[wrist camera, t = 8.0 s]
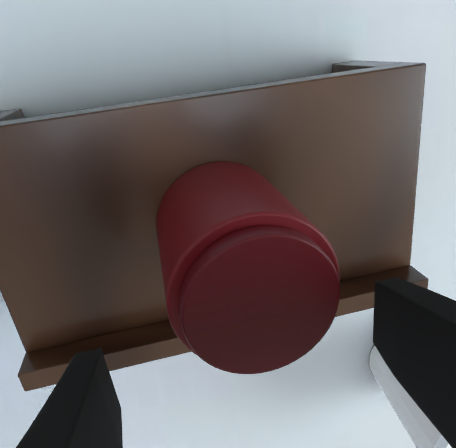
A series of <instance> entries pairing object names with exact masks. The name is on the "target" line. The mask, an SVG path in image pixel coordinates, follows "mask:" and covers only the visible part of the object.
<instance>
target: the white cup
mask: <svg viewBox="0 0 456 448" xmlns="http://www.w3.org/2000/svg"><path fill="white" fill-rule="evenodd" d="M369 366H370V369H371V371H372V373H373V375H374V377H375V379H376V381H377V382H378V384H379V386H380V387H381V389H382V391H383V392H384V394H385V396H386V397H387V399H388V401H389V402H390V404H391V406H392V407H393V409H394V411H395V412H396V414H397V416H398V417H399V419H400V421H401V422H402V424H403V426H404V427H405V429H406V431H407V432H408V434H409V436H410V437H411V439H412V441H413V442H414V444H415V446H416V447H417V448H452V447H451V446H450V445H449V443H448V442H447V441H446V440H445V438H444V437H443V436H442V435H441V434H440V432H439V431H438V430H437V429H436V427H435V426H434V425H433V424H432V423H431V421H430V420H429V419H428V418H427V416H426V415H425V414H424V413H423V412H422V410H421V409H420V408H419V407H418V405H417V404H416V403H415V402H414V401H413V399H412V398H411V397H410V396H409V394H408V393H407V392H406V391H405V389H404V388H403V387H402V386H401V384H400V383H399V382H398V381H397V379H396V378H395V377H394V375H393V374H392V372H391V371H390V369H389V368H388V366H387V365H386V363H385V362H384V360H383V358H382V357H381V355H380V353H379V352H378V350H377V348H376V347H375V345H374V347H373V349H372V351H371V353H370V363H369Z"/></svg>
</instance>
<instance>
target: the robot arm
mask: <svg viewBox="0 0 456 448" xmlns="http://www.w3.org/2000/svg"><path fill="white" fill-rule="evenodd" d="M373 343H374V345H375V347H376V348H377V350H378V352H379V353H380V355H381V357H382V358H383V360H384V362H385V363H386V365H387V366H388V368H389V369H390V371H391V372H392V374H393V375H394V377H395V378H396V379H397V381H398V382H399V383H400V384H401V386H402V387H403V388H404V389H405V391H406V392H407V393H408V394H409V396H410V397H411V398H412V399H413V401H414V402H415V403H416V404H417V405H418V407H419V408H420V409H421V410H422V412H423V413H424V414H425V415H426V416H427V418H428V419H429V420H430V421H431V423H432V424H433V425H434V426H435V427H436V429H437V430H438V431H439V432H440V434H441V435H442V436H443V437H444V438H445V440H446V441H447V442H448V443H449V445H450V446H451V447H452V448H456V301H455V300H452V299H450V298H447V297H445V296H443V295H440V294H438V293H435V292H433V291H431V290H428V289H426V288H423V287H421V286H418V285H416V284H413V283H411V282H408V281H406V280H403V279H400V278H397V277H394V278H390V279H386V280H381V281H377V282H375V294H374V326H373ZM16 448H123V445H122V418H121V407H120V404H119V401H118V398H117V395H116V391H115V388H114V385H113V382H112V379H111V376H110V373H109V370H108V367H107V364H106V361H105V358H104V355H103V351H102V348H98V349H93V350H89V351H85V352H81V353H77V354H75V355H74V357H73V358H72V360H71V361H70V363H69V364H68V366H67V368H66V369H65V371H64V373H63V375H62V376H61V378H60V380H59V381H58V383H57V385H56V386H55V388H54V390H53V391H52V393H51V394H50V396H49V398H48V399H47V401H46V403H45V404H44V406H43V407H42V409H41V411H40V412H39V414H38V415H37V417H36V418H35V420H34V421H33V423H32V425H31V426H30V428H29V429H28V431H27V432H26V434H25V435H24V437H23V438H22V440H21V441H20V443H19V444H18V445H17V447H16Z"/></svg>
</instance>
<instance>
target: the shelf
mask: <svg viewBox="0 0 456 448" xmlns="http://www.w3.org/2000/svg"><path fill="white" fill-rule="evenodd" d="M425 71H426V64H425V63H408V62H379V61H350V62H343V63H336V64H333V65H332V73H330V74H323V75H316V76H309V77H302V78H295V79H289V80H282V81H275V82H268V83H261V84H254V85H247V86H241V87H234V88H227V89H220V90H213V91H206V92H199V93H193V94H186V95H179V96H172V97H165V98H158V99H151V100H145V101H138V102H131V103H124V104H117V105H110V106H103V107H97V108H90V109H83V110H76V111H69V112H62V113H56V114H49V115H42V116H35V117H28V118H24V117H23V114H22V111H21V109H13V110H6V111H0V290H1V293H2V295H3V298H4V300H5V302H6V305H7V307H8V310H9V312H10V314H11V317H12V319H13V322H14V324H15V326H16V329H17V331H18V334H19V336H20V339H21V341H22V343H23V346H24V348H25V351H26V354H25V357H24V359H23V362H22V365H21V368H20V370H19V373H18V377H19V379H20V382H21V384H22V386H23V388H24V391H29V390H33V389H37V388H42V387H46V386H50V385H54V384H57V383H58V381H59V380H60V378H61V376H62V375H63V373H64V371H65V369H66V368H67V366H68V364H69V363H70V361H71V360H72V358H73V357H74V355H75V354H77V353H81V352H85V351H89V350H93V349H98V348H102V351H103V355H104V358H105V361H106V364H107V367H108V370H109V371H112V370H116V369H121V368H125V367H129V366H133V365H137V364H141V363H146V362H150V361H154V360H158V359H162V358H166V357H170V356H175V355H179V354H183V353H187V352H191V350H189V349H188V348H187V347H186V346H185V345H184V344H183V343H182V342H181V341H180V340H179V338H178V337H177V335H176V334H175V332H174V330H173V328H172V326H171V324H170V321H169V318H168V315H167V308H166V300H165V292H164V284H163V276H162V269H161V261H160V253H159V245H158V237H157V229H156V220H157V213H158V209H159V206H160V203H161V201H162V199H163V197H164V195H165V194H166V192H167V190H168V189H169V188H170V187H171V185H172V184H173V183H174V182H175V181H176V180H177V179H178V178H179V177H181V176H182V175H183V174H185V173H186V172H188V171H190V170H191V169H193V168H195V167H198V166H201V165H203V164H207V163H211V162H220V161H222V162H234V163H239V164H242V165H246V166H248V167H250V168H252V169H254V170H255V171H257V172H258V173H260V174H261V175H262V176H263V177H264V178H266V179H267V180H268V181H269V182H270V183H271V184H272V185H273V186H274V187H275V188H276V189H277V190H278V191H279V192H280V193H281V194H282V195H283V196H284V197H286V198H287V199H288V200H289V201H290V202H291V203H292V204H293V205H294V206H295V207H296V208H297V209H298V210H299V211H300V212H301V213H302V214H303V215H304V216H306V217H307V218H308V219H309V220H310V221H311V222H312V223H313V224H314V225H315V226H316V227H317V228H318V229H319V230H320V231H321V232H322V233H323V234H324V235H325V236H326V238H327V239H328V240H329V242H330V243H331V245H332V247H333V249H334V251H335V254H336V256H337V260H338V265H339V274H340V280H339V286H340V298H339V305H338V309H337V312H336V315H335V317H337V316H341V315H345V314H349V313H353V312H358V311H362V310H366V309H370V308H374V294H375V282H377V281H381V280H386V279H390V278H394V277H397V278H400V279H403V280H406V281H408V282H411V283H413V284H416V285H418V286H421V287H423V288H426V289H427V287H428V278H426V277H425V276H424V275H422V274H421V273H420V272H418V271H417V270H416V269H415V268H413V267H412V266H410V259H411V246H412V234H413V221H414V209H415V196H416V184H417V171H418V158H419V146H420V133H421V121H422V108H423V96H424V83H425Z"/></svg>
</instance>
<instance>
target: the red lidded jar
mask: <svg viewBox="0 0 456 448" xmlns="http://www.w3.org/2000/svg"><path fill="white" fill-rule="evenodd" d="M156 229H157V237H158V245H159V253H160V261H161V269H162V276H163V284H164V292H165V300H166V308H167V315H168V318H169V321H170V324H171V326H172V328H173V330H174V332H175V334H176V335H177V337H178V338H179V340H180V341H181V342H182V343H183V344H184V345H185V346H186V347H187V348H188V349H189V350H191V351H192V352H193V353H195V354H196V355H198V356H199V357H200V358H201V359H203V360H204V361H205V362H207V363H208V364H210V365H212V366H213V367H215V368H218V369H221V370H223V371H227V372H231V373H238V374H256V373H263V372H268V371H272V370H275V369H279V368H281V367H283V366H286V365H288V364H290V363H292V362H294V361H296V360H297V359H299V358H300V357H302V356H303V355H305V354H306V353H307V352H309V351H310V350H311V349H312V348H313V347H314V346H315V345H316V344H317V343H318V342H319V341H320V340H321V339H322V338H323V336H324V335H325V334H326V332H327V331H328V329H329V328H330V326H331V324H332V322H333V320H334V318H335V315H336V312H337V309H338V305H339V298H340V286H339V280H340V274H339V265H338V260H337V256H336V254H335V251H334V249H333V247H332V245H331V243H330V242H329V240H328V239H327V238H326V236H325V235H324V234H323V233H322V232H321V231H320V230H319V229H318V228H317V227H316V226H315V225H314V224H313V223H312V222H311V221H310V220H309V219H308V218H307V217H306V216H304V215H303V214H302V213H301V212H300V211H299V210H298V209H297V208H296V207H295V206H294V205H293V204H292V203H291V202H290V201H289V200H288V199H287V198H286V197H284V196H283V195H282V194H281V193H280V192H279V191H278V190H277V189H276V188H275V187H274V186H273V185H272V184H271V183H270V182H269V181H268V180H267V179H266V178H264V177H263V176H262V175H261V174H260V173H258V172H257V171H255V170H254V169H252V168H250V167H248V166H246V165H242V164H239V163H234V162H222V161H220V162H211V163H207V164H203V165H201V166H198V167H195V168H193V169H191V170H190V171H188V172H186V173H185V174H183V175H182V176H181V177H179V178H178V179H177V180H176V181H175V182H174V183H173V184H172V185H171V187H170V188H169V189H168V190H167V192H166V194H165V195H164V197H163V199H162V201H161V203H160V206H159V209H158V213H157V220H156Z"/></svg>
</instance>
